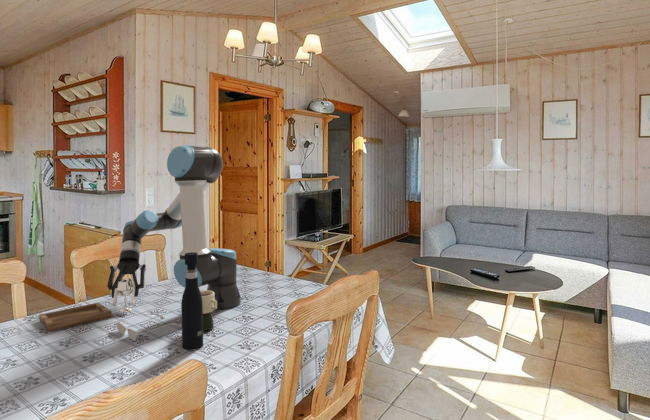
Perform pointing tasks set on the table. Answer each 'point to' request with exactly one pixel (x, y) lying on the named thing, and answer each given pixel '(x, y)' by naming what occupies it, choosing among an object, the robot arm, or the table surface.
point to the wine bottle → (192, 307)
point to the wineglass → (125, 291)
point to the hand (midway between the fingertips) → (123, 304)
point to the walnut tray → (74, 316)
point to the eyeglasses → (131, 332)
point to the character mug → (208, 308)
